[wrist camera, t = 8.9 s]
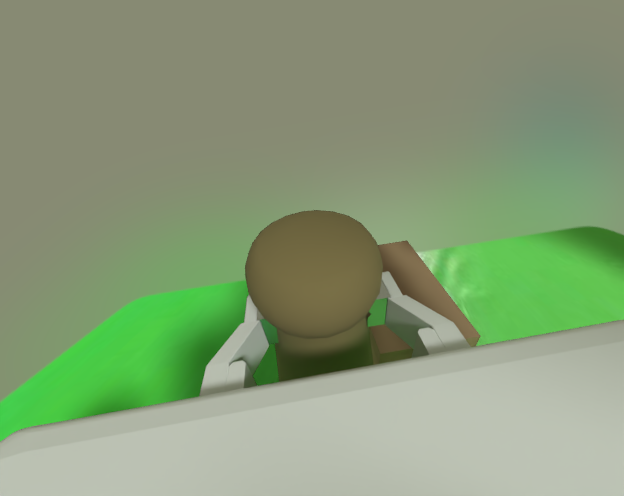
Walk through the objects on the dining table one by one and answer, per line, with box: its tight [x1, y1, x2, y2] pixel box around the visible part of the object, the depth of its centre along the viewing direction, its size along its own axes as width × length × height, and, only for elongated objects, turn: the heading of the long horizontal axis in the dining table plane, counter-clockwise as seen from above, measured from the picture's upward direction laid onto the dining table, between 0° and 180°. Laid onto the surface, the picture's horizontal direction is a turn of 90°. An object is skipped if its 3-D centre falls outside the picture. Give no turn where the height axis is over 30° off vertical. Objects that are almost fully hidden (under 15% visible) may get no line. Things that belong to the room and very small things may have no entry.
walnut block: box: [369, 241, 480, 365], centre depth 29 cm, size 9×15×6 cm, turn 7°
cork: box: [245, 210, 383, 382], centre depth 12 cm, size 6×6×11 cm
